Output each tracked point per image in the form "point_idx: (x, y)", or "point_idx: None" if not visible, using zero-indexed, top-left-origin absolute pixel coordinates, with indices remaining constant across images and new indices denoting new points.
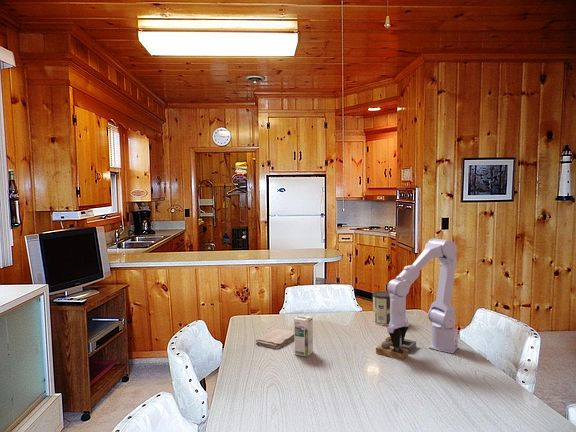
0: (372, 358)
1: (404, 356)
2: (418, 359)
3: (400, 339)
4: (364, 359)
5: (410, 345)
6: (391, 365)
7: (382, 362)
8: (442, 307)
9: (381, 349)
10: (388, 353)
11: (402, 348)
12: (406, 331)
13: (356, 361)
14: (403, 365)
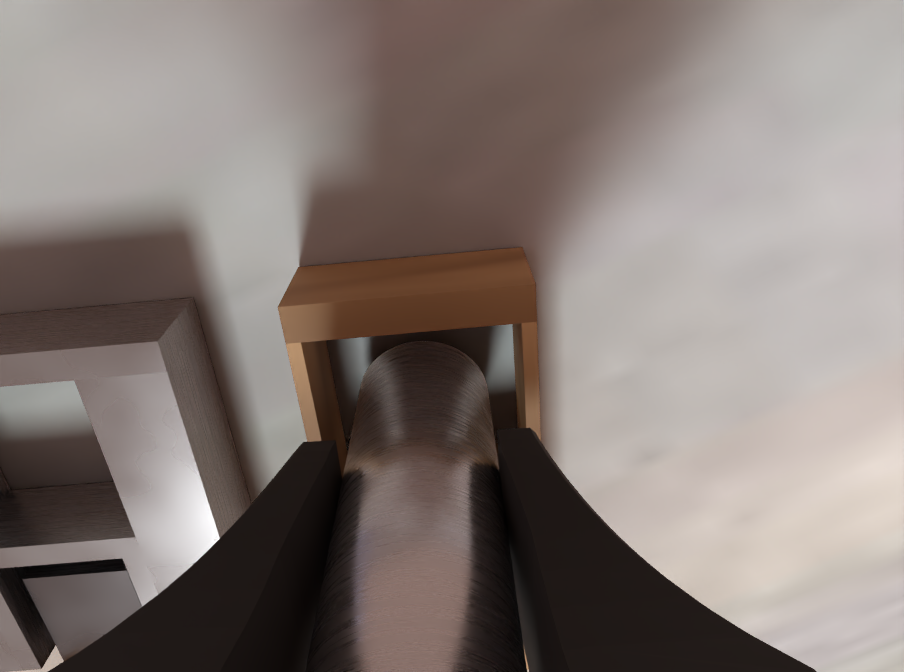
0: (714, 560)
1: (464, 267)
2: (304, 51)
3: (446, 539)
4: (794, 604)
5: (35, 370)
6: (812, 293)
7: (771, 426)
8: None
9: None
10: None
11: (205, 427)
12: (102, 650)
13: (894, 632)
14: (716, 149)
